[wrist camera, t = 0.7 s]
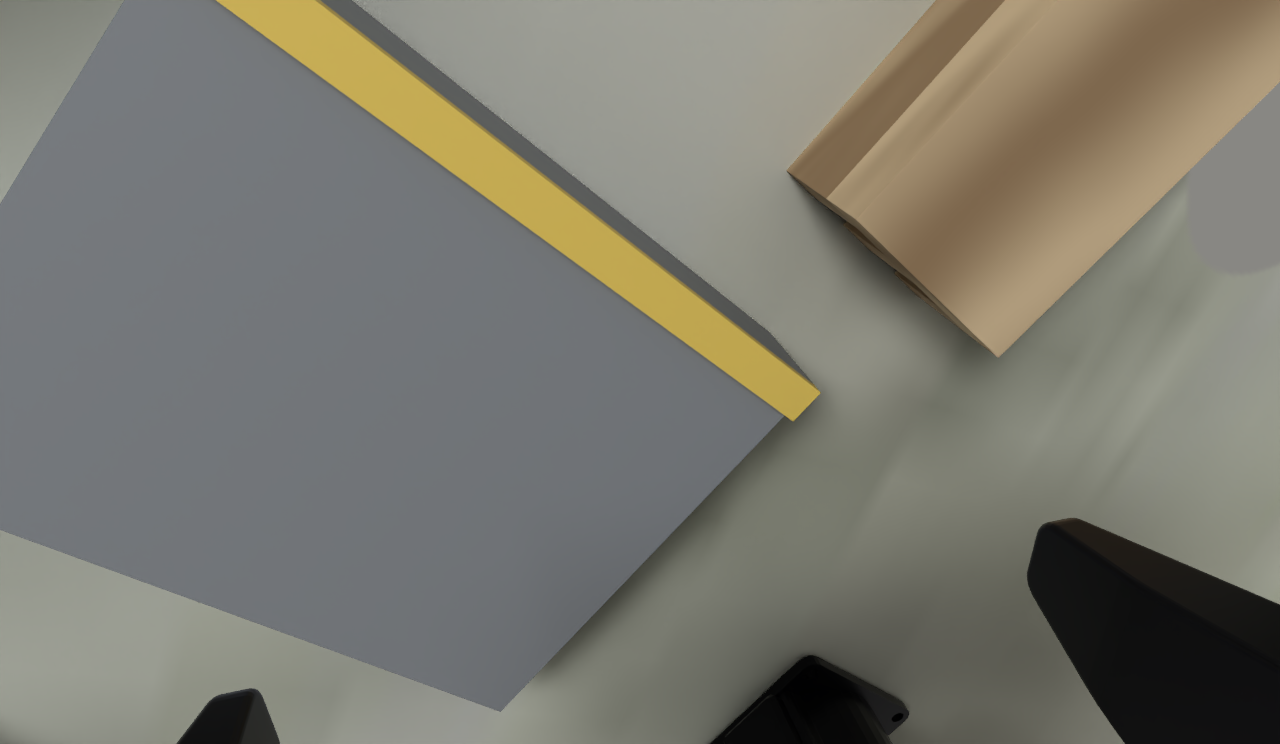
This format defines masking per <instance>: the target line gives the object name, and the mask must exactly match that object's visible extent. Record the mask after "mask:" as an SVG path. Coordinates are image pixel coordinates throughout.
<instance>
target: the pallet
mask: <svg viewBox="0 0 1280 744" xmlns="http://www.w3.org/2000/svg"><path fill="white" fill-rule="evenodd" d="M1279 82H1280V0H936V1H935V2H934V3H933V4H932V6H931V7H930V8H929V9H928V10H927V11H926V12H925V13H924V15H923V16H922V17H921V18H920V19H919V20H918V21H917V23H916V24H915V25H914V26H913V27H912V28H911V29H910V31H909V32H908V33H907V34H906V35H905V36H904V37H903V39H902V40H901V41H900V42H899V43H898V44H897V45H896V47H895V48H894V49H893V50H892V51H891V52H890V53H889V54H888V56H887V57H886V58H885V59H884V60H883V61H882V62H881V64H880V65H879V66H878V67H877V68H876V69H875V70H874V72H873V73H872V74H871V75H870V76H869V77H868V78H867V80H866V81H865V82H864V83H863V84H862V85H861V86H860V88H859V89H858V90H857V91H856V92H855V93H854V94H853V96H852V97H851V98H850V99H849V100H848V101H847V102H846V103H845V105H844V106H843V107H842V108H841V109H840V110H839V111H838V113H837V114H836V115H835V116H834V117H833V118H832V119H831V121H830V122H829V123H828V124H827V125H826V126H825V127H824V129H823V130H822V131H821V132H820V133H819V134H818V135H817V137H816V138H815V139H814V140H813V141H812V142H811V143H810V144H809V146H808V147H807V148H806V149H805V150H804V151H803V152H802V154H801V155H800V156H799V157H798V158H797V159H796V160H795V162H794V163H793V164H792V165H791V166H790V167H789V168H788V170H787V172H788V173H789V174H791V175H792V176H793V177H794V178H795V179H796V180H797V181H798V182H799V183H800V184H801V185H802V186H803V187H804V188H805V189H806V190H807V191H808V192H809V193H810V194H811V195H813V196H814V197H815V198H816V199H817V200H818V201H820V202H821V203H823V204H824V205H825V206H827V207H828V208H830V209H831V210H832V211H834V212H835V213H837V214H838V215H839V216H841V217H842V218H843V219H845V220H846V222H845V223H844V224H843V225H844V226H845V227H846V228H847V229H848V230H849V231H850V232H851V233H852V234H853V235H854V236H855V237H856V238H858V239H859V240H860V241H861V242H862V243H863V244H864V245H865V246H866V247H867V248H868V249H869V250H870V251H872V252H873V253H874V254H876V255H877V256H878V257H880V258H881V259H882V260H884V261H885V262H886V263H888V264H889V265H890V266H892V267H893V268H894V269H896V270H897V271H896V272H895V273H894V274H895V275H896V276H897V277H898V278H899V279H900V280H901V281H903V282H904V283H905V284H906V285H907V286H908V287H909V288H910V289H911V290H912V291H913V292H914V293H915V294H916V295H917V296H918V297H920V298H921V299H922V300H924V301H925V302H926V303H927V304H929V305H930V306H931V307H933V308H934V309H935V310H937V311H938V312H939V313H940V314H942V315H943V316H944V317H946V318H947V319H948V320H950V321H951V322H952V323H954V324H955V325H956V326H957V327H959V328H960V329H961V330H963V331H964V332H965V333H967V334H968V335H969V336H970V337H972V338H973V339H974V340H976V341H977V342H978V343H980V344H981V345H982V346H984V347H985V348H986V349H987V350H989V351H990V352H991V353H993V354H994V355H995V356H997V357H998V358H999V357H1000V356H1001V355H1002V354H1003V353H1004V352H1005V351H1006V350H1007V349H1008V348H1009V347H1010V346H1011V345H1012V344H1013V343H1014V342H1015V341H1016V340H1017V339H1018V338H1019V337H1020V336H1021V335H1022V334H1023V333H1024V332H1025V331H1026V330H1027V329H1028V328H1029V327H1030V326H1031V325H1032V324H1033V323H1034V322H1035V321H1036V320H1037V319H1038V318H1040V317H1041V316H1042V315H1043V314H1044V313H1045V312H1046V311H1047V310H1048V309H1049V308H1050V307H1051V306H1052V305H1053V304H1054V303H1055V302H1056V301H1057V300H1058V299H1059V298H1060V297H1061V296H1062V295H1063V294H1064V293H1065V292H1066V291H1067V290H1068V289H1069V288H1070V287H1071V286H1072V285H1073V284H1074V283H1075V282H1076V281H1077V280H1078V279H1079V278H1080V277H1081V276H1082V275H1083V274H1084V273H1085V272H1086V271H1087V270H1088V269H1089V268H1090V267H1092V266H1093V265H1094V264H1095V263H1096V262H1097V261H1098V260H1099V259H1100V258H1101V257H1102V256H1103V255H1104V254H1105V253H1106V252H1107V251H1108V250H1109V249H1110V248H1111V247H1112V246H1113V245H1114V244H1115V243H1116V242H1117V241H1118V240H1119V239H1120V238H1121V237H1122V236H1123V235H1124V234H1125V233H1126V232H1127V231H1128V230H1129V229H1130V228H1131V227H1132V226H1133V225H1134V224H1135V223H1136V222H1137V221H1138V220H1139V219H1140V218H1141V217H1142V216H1144V215H1145V214H1146V213H1147V212H1148V211H1149V210H1150V209H1151V208H1152V207H1153V206H1154V205H1155V204H1156V203H1157V202H1158V201H1159V200H1160V199H1161V198H1162V197H1163V196H1164V195H1165V194H1166V193H1167V192H1168V191H1169V190H1170V189H1171V188H1172V187H1173V186H1174V185H1175V184H1176V183H1177V182H1178V181H1179V180H1180V179H1181V178H1182V177H1183V176H1184V175H1185V174H1186V173H1187V172H1188V171H1189V170H1190V169H1191V168H1192V167H1193V166H1194V165H1196V164H1197V163H1198V161H1199V160H1200V159H1202V158H1203V157H1204V156H1205V155H1206V154H1207V153H1208V152H1209V151H1210V150H1211V149H1212V148H1213V147H1214V146H1215V145H1216V144H1217V143H1218V142H1219V141H1220V140H1221V139H1222V138H1223V137H1224V136H1225V135H1226V134H1227V133H1228V132H1229V131H1230V130H1231V129H1232V128H1233V127H1234V126H1235V125H1236V124H1237V123H1238V122H1239V121H1240V120H1241V119H1242V118H1243V117H1244V116H1245V115H1246V114H1247V113H1248V112H1250V111H1251V110H1252V109H1253V108H1254V106H1256V105H1257V104H1258V102H1260V100H1262V99H1263V98H1264V97H1265V96H1266V95H1267V94H1268V93H1269V92H1270V91H1271V90H1272V89H1273V88H1274V87H1275V86H1276V85H1277V84H1278V83H1279Z"/></svg>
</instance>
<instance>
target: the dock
mask: <svg viewBox="0 0 1280 744" xmlns="http://www.w3.org/2000/svg"><path fill="white" fill-rule="evenodd" d="M820 393H821V392H820V391H819V390H818V389H817V388H816V386H815V385H814V384H813V383H812V382H811V381H810V379H809V378H808V377H807V376H806V375H805V373H804V372H803V371H802V370H801V369H800V368H799V366H798V365H797V364H796V363H795V362H794V361H793V359H792V358H791V357H790V356H789V355H788V353H787V352H786V351H785V350H784V349H783V348H782V346H781V345H780V344H779V343H778V342H777V341H776V339H775V338H774V337H773V336H772V335H771V334H770V332H768V331H767V330H766V329H765V328H763V327H762V326H761V325H759V324H758V323H757V322H756V321H754V320H753V319H752V318H751V317H749V316H748V315H747V314H746V313H744V312H743V311H742V310H741V309H739V308H738V307H737V306H736V305H734V304H733V303H732V302H731V301H729V300H728V299H727V298H726V297H724V296H723V295H722V294H720V293H719V292H718V291H717V290H715V289H714V288H713V287H712V286H710V285H709V284H708V283H707V282H705V281H704V280H703V279H702V278H700V277H699V276H698V275H697V274H695V273H694V272H693V271H692V270H690V269H689V268H688V267H686V266H685V265H684V264H683V263H681V262H680V261H679V260H678V259H676V258H675V257H674V256H673V255H671V254H670V253H669V252H668V251H666V250H665V249H664V248H663V247H661V246H660V245H659V244H658V243H656V242H655V241H654V240H653V239H651V238H650V237H649V236H647V235H646V234H645V233H644V232H642V231H641V230H640V229H639V228H637V227H636V226H635V225H634V224H632V223H631V222H630V221H629V220H627V219H626V218H625V217H624V216H622V215H621V214H620V213H619V212H617V211H616V210H615V209H614V208H612V207H611V206H610V205H608V204H607V203H606V202H605V201H603V200H602V199H601V198H600V197H598V196H597V195H596V194H595V193H593V192H592V191H591V190H590V189H588V188H587V187H586V186H585V185H583V184H582V183H581V182H580V181H578V180H577V179H576V178H574V177H573V176H572V175H571V174H569V173H568V172H567V171H566V170H564V169H563V168H562V167H561V166H559V165H558V164H557V163H556V162H554V161H553V160H552V159H551V158H549V157H548V156H547V155H546V154H544V153H543V152H542V151H541V150H539V149H538V148H537V147H535V146H534V145H533V144H532V143H530V142H529V141H528V140H527V139H525V138H524V137H523V136H522V135H520V134H519V133H518V132H517V131H515V130H514V129H513V128H512V127H510V126H509V125H508V124H507V123H505V122H504V121H503V120H501V119H500V118H499V117H498V116H496V115H495V114H494V113H493V112H491V111H490V110H489V109H488V108H486V107H485V106H484V105H483V104H481V103H480V102H479V101H478V100H476V99H475V98H474V97H473V96H471V95H470V94H469V93H468V92H466V91H465V90H464V89H462V88H461V87H460V86H459V85H457V84H456V83H455V82H454V81H452V80H451V79H450V78H449V77H447V76H446V75H445V74H444V73H442V72H441V71H440V70H439V69H437V68H436V67H435V66H434V65H432V64H431V63H430V62H428V61H427V60H426V59H425V58H423V57H422V56H421V55H420V54H418V53H417V52H416V51H415V50H413V49H412V48H411V47H410V46H408V45H407V44H406V43H405V42H403V41H402V40H401V39H400V38H398V37H397V36H396V35H395V34H393V33H392V32H391V31H389V30H388V29H387V28H386V27H384V26H383V25H382V24H381V23H379V22H378V21H377V20H376V19H374V18H373V17H372V16H371V15H369V14H368V13H367V12H366V11H364V10H363V9H362V8H361V7H359V6H358V5H357V4H355V3H354V2H353V1H352V0H124V2H123V3H122V5H121V7H120V8H119V10H118V12H117V13H116V15H115V17H114V18H113V20H112V21H111V23H110V25H109V26H108V28H107V30H106V31H105V33H104V35H103V36H102V38H101V40H100V41H99V43H98V44H97V46H96V48H95V49H94V51H93V53H92V54H91V56H90V58H89V59H88V61H87V63H86V64H85V66H84V67H83V69H82V71H81V72H80V74H79V76H78V77H77V79H76V81H75V82H74V84H73V85H72V87H71V89H70V90H69V92H68V94H67V95H66V97H65V99H64V100H63V102H62V104H61V105H60V107H59V108H58V110H57V112H56V113H55V115H54V117H53V118H52V120H51V122H50V123H49V125H48V127H47V128H46V130H45V131H44V133H43V135H42V136H41V138H40V140H39V141H38V143H37V145H36V146H35V148H34V150H33V151H32V153H31V154H30V156H29V158H28V159H27V161H26V163H25V164H24V166H23V168H22V169H21V171H20V172H19V174H18V176H17V177H16V179H15V181H14V182H13V184H12V186H11V187H10V189H9V191H8V192H7V194H6V195H5V197H4V199H3V200H2V202H1V204H0V530H2V531H5V532H8V533H10V534H13V535H16V536H19V537H21V538H24V539H27V540H30V541H32V542H35V543H38V544H41V545H43V546H46V547H49V548H52V549H54V550H57V551H60V552H63V553H65V554H68V555H71V556H74V557H76V558H79V559H82V560H85V561H87V562H90V563H93V564H96V565H98V566H101V567H104V568H107V569H109V570H112V571H115V572H118V573H120V574H123V575H126V576H129V577H131V578H134V579H137V580H140V581H142V582H145V583H148V584H151V585H153V586H156V587H159V588H162V589H164V590H167V591H170V592H173V593H175V594H178V595H181V596H184V597H186V598H189V599H192V600H195V601H197V602H200V603H203V604H206V605H208V606H211V607H214V608H217V609H219V610H222V611H225V612H228V613H230V614H233V615H236V616H239V617H241V618H244V619H247V620H250V621H252V622H255V623H258V624H261V625H263V626H266V627H269V628H272V629H274V630H277V631H280V632H283V633H285V634H288V635H291V636H294V637H296V638H299V639H302V640H305V641H307V642H310V643H313V644H316V645H318V646H321V647H324V648H327V649H329V650H332V651H335V652H338V653H340V654H343V655H346V656H349V657H351V658H354V659H357V660H360V661H362V662H365V663H368V664H371V665H373V666H376V667H379V668H382V669H384V670H387V671H390V672H393V673H395V674H398V675H401V676H404V677H406V678H409V679H412V680H415V681H417V682H420V683H423V684H426V685H428V686H431V687H434V688H437V689H439V690H442V691H445V692H448V693H450V694H453V695H456V696H459V697H461V698H464V699H467V700H470V701H472V702H475V703H478V704H481V705H483V706H486V707H489V708H492V709H494V710H497V711H500V712H501V711H502V710H503V709H504V708H505V706H506V705H507V704H508V703H509V702H510V701H511V700H512V699H513V698H514V697H515V696H516V695H517V694H518V693H519V692H520V691H521V690H522V689H523V688H524V687H525V686H526V685H527V684H528V683H529V681H530V680H531V679H532V678H533V677H534V676H535V675H536V674H537V673H538V672H539V671H540V670H541V669H542V668H543V667H544V666H545V665H546V664H547V663H548V662H549V661H550V660H551V659H552V657H553V656H554V655H555V654H556V653H557V652H558V651H559V650H560V649H561V648H562V647H563V646H564V645H565V644H566V643H567V642H568V641H569V640H570V639H571V638H572V637H573V636H574V635H575V634H576V632H577V631H578V630H579V629H580V628H581V627H582V626H583V625H584V624H585V623H586V622H587V621H588V620H589V619H590V618H591V617H592V616H593V615H594V614H595V613H596V612H597V611H598V610H599V609H600V607H601V606H602V605H603V604H604V603H605V602H606V601H607V600H608V599H609V598H610V597H611V596H612V595H613V594H614V593H615V592H616V591H617V590H618V589H619V588H620V587H621V586H622V585H623V584H624V582H625V581H626V580H627V579H628V578H629V577H630V576H631V575H632V574H633V573H634V572H635V571H636V570H637V569H638V568H639V567H640V566H641V565H642V564H643V563H644V562H645V561H646V560H647V559H648V557H649V556H650V555H651V554H652V553H653V552H654V551H655V550H656V549H657V548H658V547H659V546H660V545H661V544H662V543H663V542H664V541H665V540H666V539H667V538H668V537H669V536H670V535H671V533H672V532H673V531H674V530H675V529H676V528H677V527H678V526H679V525H680V524H681V523H682V522H683V521H684V520H685V519H686V518H687V517H688V516H689V515H690V514H691V513H692V512H693V511H694V510H695V508H696V507H697V506H698V505H699V504H700V503H701V502H702V501H703V500H704V499H705V498H706V497H707V496H708V495H709V494H710V493H711V492H712V491H713V490H714V489H715V488H716V487H717V486H718V485H719V483H720V482H721V481H722V480H723V479H724V478H725V477H726V476H727V475H728V474H729V473H730V472H731V471H732V470H733V469H734V468H735V467H736V466H737V465H738V464H739V463H740V462H741V461H742V460H743V458H744V457H745V456H746V455H747V454H748V453H749V452H750V451H751V450H752V449H753V448H754V447H755V446H756V445H757V444H758V443H759V442H760V441H761V440H762V439H763V438H764V437H765V436H766V435H767V433H768V432H769V431H770V430H771V429H772V428H773V427H774V426H775V425H776V424H777V423H778V422H779V421H780V420H781V419H782V418H783V417H784V416H786V417H788V418H789V419H790V420H792V421H794V420H795V419H796V418H797V417H798V416H799V415H800V414H801V413H802V412H803V411H804V410H805V409H806V408H807V407H808V406H809V405H810V404H811V403H812V401H813V400H814V399H815V398H816V397H817V396H818V395H819V394H820Z"/></svg>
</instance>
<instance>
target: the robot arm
mask: <svg viewBox="0 0 1280 744" xmlns="http://www.w3.org/2000/svg"><path fill="white" fill-rule="evenodd" d="M1027 581H1028V585H1029V588H1030V591H1031V593H1032V595H1033V597H1034V599H1035V601H1036V602H1037V604H1038V606H1039V607H1040V609H1041V611H1042V612H1043V614H1044V616H1045V618H1046V619H1047V621H1048V623H1049V624H1050V626H1051V628H1052V629H1053V631H1054V633H1055V635H1056V636H1057V638H1058V640H1059V641H1060V643H1061V645H1062V646H1063V648H1064V650H1065V652H1066V653H1067V655H1068V657H1069V658H1070V660H1071V662H1072V663H1073V665H1074V667H1075V669H1076V670H1077V672H1078V674H1079V675H1080V677H1081V679H1082V680H1083V682H1084V684H1085V686H1086V687H1087V689H1088V690H1089V692H1090V694H1091V695H1092V697H1093V698H1094V700H1095V701H1096V703H1097V705H1098V706H1099V708H1100V709H1101V710H1102V712H1103V713H1104V715H1105V716H1106V718H1107V719H1108V721H1109V722H1110V724H1111V725H1112V726H1113V728H1114V729H1115V730H1116V732H1117V733H1118V735H1119V736H1120V737H1121V739H1122V740H1123V742H1124V743H1125V744H1280V605H1279V604H1277V603H1275V602H1272V601H1270V600H1268V599H1265V598H1263V597H1261V596H1258V595H1256V594H1254V593H1251V592H1249V591H1247V590H1244V589H1242V588H1240V587H1237V586H1235V585H1233V584H1230V583H1228V582H1226V581H1223V580H1221V579H1219V578H1216V577H1214V576H1212V575H1209V574H1207V573H1205V572H1202V571H1200V570H1198V569H1195V568H1193V567H1190V566H1188V565H1186V564H1183V563H1181V562H1179V561H1176V560H1174V559H1172V558H1169V557H1167V556H1165V555H1162V554H1160V553H1158V552H1155V551H1153V550H1151V549H1148V548H1146V547H1144V546H1141V545H1139V544H1137V543H1134V542H1132V541H1130V540H1127V539H1125V538H1123V537H1120V536H1118V535H1116V534H1113V533H1111V532H1109V531H1106V530H1104V529H1101V528H1099V527H1097V526H1094V525H1092V524H1090V523H1087V522H1085V521H1083V520H1080V519H1077V518H1067V519H1062V520H1057V521H1052V522H1048V523H1045V524H1043V525H1042V526H1041V527H1040V528H1039V530H1038V532H1037V536H1036V540H1035V544H1034V548H1033V552H1032V555H1031V559H1030V563H1029V567H1028V572H1027ZM908 716H909V711H908V710H907V708H906V706H905V705H904V703H903V702H902V701H900V700H898V699H896V698H894V697H892V696H890V695H889V694H887V693H885V692H883V691H881V690H879V689H877V688H875V687H873V686H871V685H869V684H868V683H866V682H864V681H862V680H860V679H858V678H856V677H854V676H852V675H850V674H848V673H847V672H845V671H843V670H841V669H839V668H837V667H835V666H833V665H831V664H829V663H827V662H826V661H824V660H822V659H820V658H818V657H815V656H807V657H805V658H802V659H801V660H800V661H798V662H797V663H796V664H795V665H794V666H793V667H792V668H791V669H790V670H789V671H788V672H787V673H786V674H784V675H783V676H782V677H781V678H780V679H779V680H778V681H777V682H776V683H775V684H774V685H773V686H772V687H771V688H770V689H769V690H767V691H766V692H765V693H764V694H763V695H762V696H761V697H760V698H759V699H758V700H757V701H756V702H755V703H754V704H753V705H751V706H750V707H749V708H748V709H747V710H746V711H745V712H744V713H743V714H742V715H741V716H740V717H739V718H738V719H737V720H735V721H734V722H733V723H732V724H731V725H730V726H729V727H728V728H727V729H726V730H725V731H724V732H723V733H722V734H721V735H719V736H718V737H717V738H716V739H715V740H714V741H713V742H712V743H711V744H892V742H891V741H890V739H889V737H888V735H889V734H891V733H892V732H893V731H894V730H895V729H896V728H897V727H899V726H900V725H901V724H902V723H903V722H904V721H905V720H906V719H907V718H908ZM177 744H280V742H279V738H278V735H277V733H276V730H275V728H274V725H273V723H272V720H271V717H270V715H269V712H268V710H267V707H266V704H265V702H264V699H263V697H262V695H261V693H260V692H259V691H258V690H256V689H251V688H250V689H245V690H240V691H235V692H230V693H226V694H221V695H218V696H216V697H214V698H213V699H212V700H210V701H209V702H208V703H207V705H206V706H205V707H204V709H203V710H202V711H201V712H200V714H199V715H198V716H197V718H196V719H195V720H194V722H193V723H192V724H191V725H190V727H189V728H188V729H187V731H186V732H185V733H184V735H183V736H182V737H181V738H180V740H179V741H178V742H177Z"/></svg>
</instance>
